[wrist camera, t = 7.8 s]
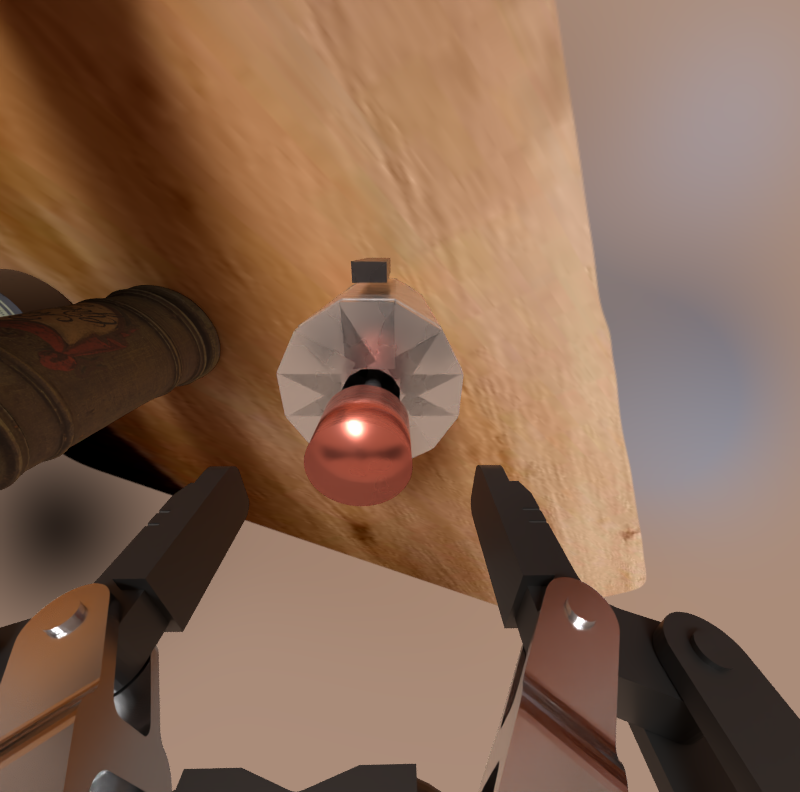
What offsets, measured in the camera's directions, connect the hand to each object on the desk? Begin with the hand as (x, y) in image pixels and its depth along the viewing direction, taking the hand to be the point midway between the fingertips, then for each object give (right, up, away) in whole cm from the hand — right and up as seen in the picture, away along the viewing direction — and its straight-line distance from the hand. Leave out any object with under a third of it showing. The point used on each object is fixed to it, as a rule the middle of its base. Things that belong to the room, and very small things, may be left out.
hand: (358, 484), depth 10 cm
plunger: (0, +8, +16) cm, 18 cm away
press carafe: (0, +9, +17) cm, 20 cm away
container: (-20, +9, +17) cm, 28 cm away
